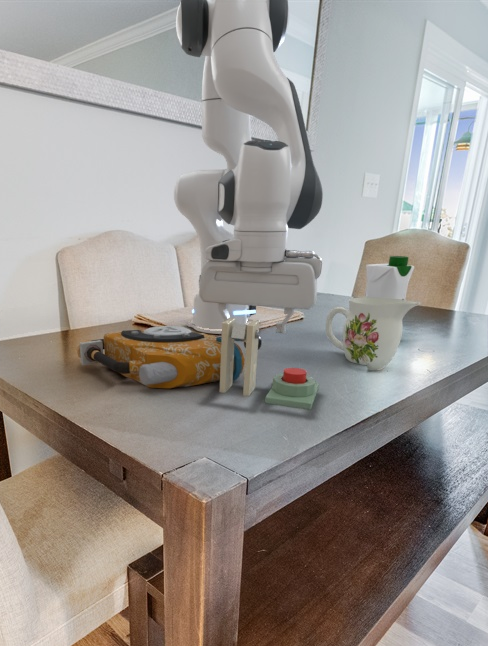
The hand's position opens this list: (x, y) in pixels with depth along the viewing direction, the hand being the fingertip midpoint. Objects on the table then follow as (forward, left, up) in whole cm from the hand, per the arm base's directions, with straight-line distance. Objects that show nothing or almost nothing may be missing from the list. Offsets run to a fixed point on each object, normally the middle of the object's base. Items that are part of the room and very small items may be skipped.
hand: (254, 330), depth 82 cm
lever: (+5, 0, -2) cm, 6 cm away
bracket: (+10, 0, -9) cm, 13 cm away
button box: (+9, +9, -9) cm, 16 cm away
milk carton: (-43, +22, -10) cm, 50 cm away
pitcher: (-18, +19, -10) cm, 28 cm away
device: (+4, -18, -10) cm, 21 cm away
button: (+9, +9, -6) cm, 14 cm away
